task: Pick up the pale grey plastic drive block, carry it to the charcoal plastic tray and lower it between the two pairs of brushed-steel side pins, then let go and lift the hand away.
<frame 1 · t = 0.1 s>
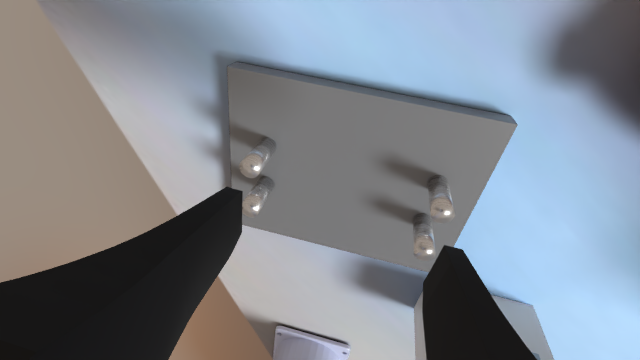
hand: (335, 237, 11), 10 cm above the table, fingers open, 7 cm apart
drive block: (469, 306, 26), on the table
pin tray: (348, 173, 22), on the table
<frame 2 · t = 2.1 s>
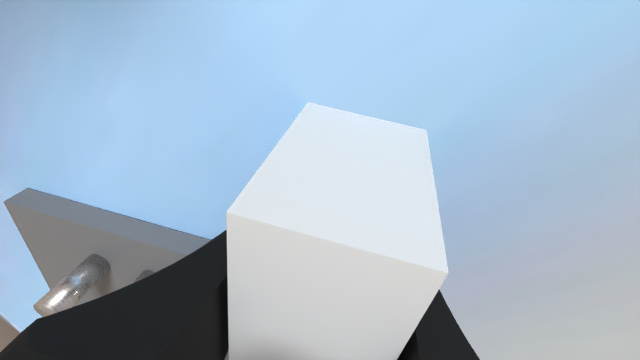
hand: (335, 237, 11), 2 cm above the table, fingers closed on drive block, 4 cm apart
drive block: (342, 207, 13), on the table, touching gripper
pin tray: (155, 310, 20), on the table
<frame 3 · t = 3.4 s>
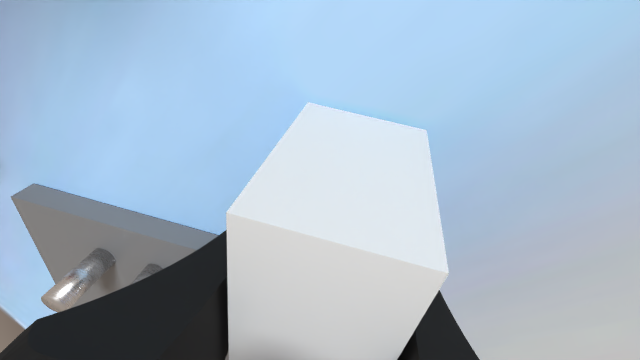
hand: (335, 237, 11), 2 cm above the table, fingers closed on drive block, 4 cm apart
drive block: (342, 208, 13), on the table, touching gripper
pin tray: (158, 304, 21), on the table
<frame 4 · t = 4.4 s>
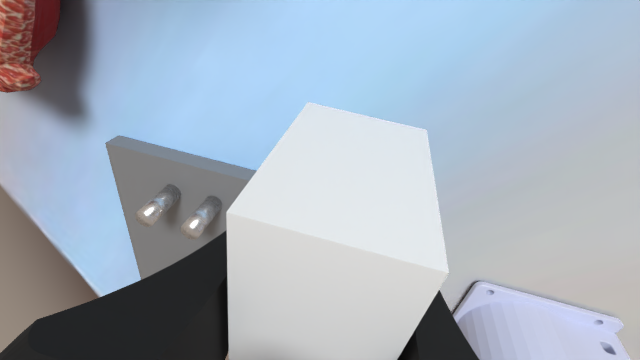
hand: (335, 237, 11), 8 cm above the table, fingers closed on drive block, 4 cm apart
drive block: (342, 207, 13), point 6 cm above the table, touching gripper
pin tray: (206, 240, 26), on the table
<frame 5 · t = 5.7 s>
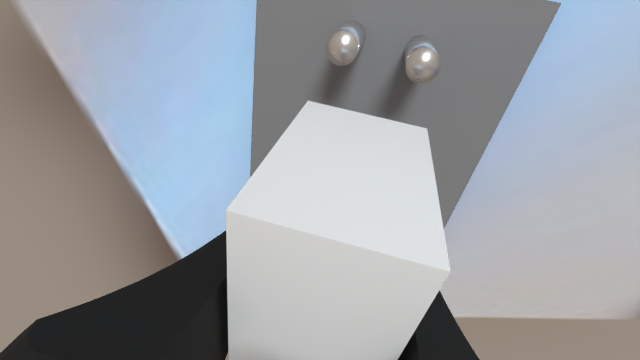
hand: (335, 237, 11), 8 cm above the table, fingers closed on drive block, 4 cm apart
drive block: (342, 207, 13), point 6 cm above the table, touching gripper
pin tray: (360, 139, 18), on the table
when the fingers open (4 cm above the table, at t = 6.8 s): drive block stays where it is, resting on pin tray.
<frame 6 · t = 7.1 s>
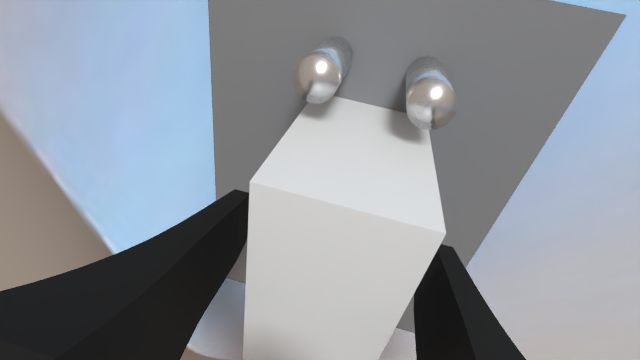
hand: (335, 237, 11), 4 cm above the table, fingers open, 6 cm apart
drive block: (347, 193, 13), point 1 cm above the table, touching pin tray
pin tray: (350, 179, 14), on the table
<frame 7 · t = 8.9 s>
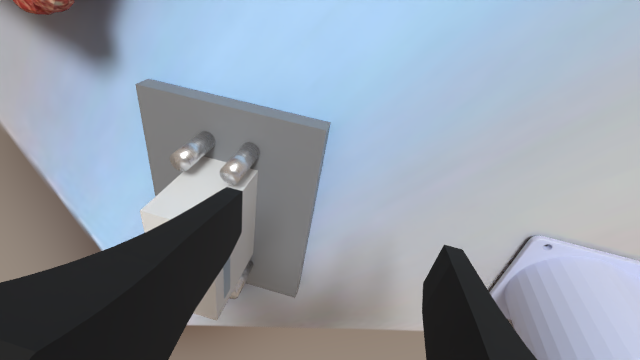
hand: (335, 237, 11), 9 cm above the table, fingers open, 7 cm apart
drive block: (229, 208, 23), point 1 cm above the table, touching pin tray
pin tray: (236, 199, 24), on the table
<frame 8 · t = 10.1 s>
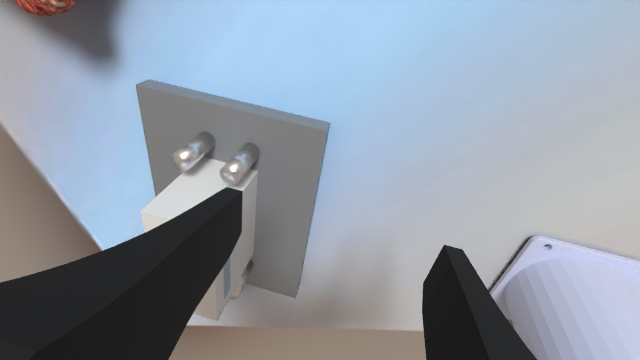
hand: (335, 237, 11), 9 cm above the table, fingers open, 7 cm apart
drive block: (229, 209, 23), point 1 cm above the table, touching pin tray
pin tray: (236, 200, 24), on the table
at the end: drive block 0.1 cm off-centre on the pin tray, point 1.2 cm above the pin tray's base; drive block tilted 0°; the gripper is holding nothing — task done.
